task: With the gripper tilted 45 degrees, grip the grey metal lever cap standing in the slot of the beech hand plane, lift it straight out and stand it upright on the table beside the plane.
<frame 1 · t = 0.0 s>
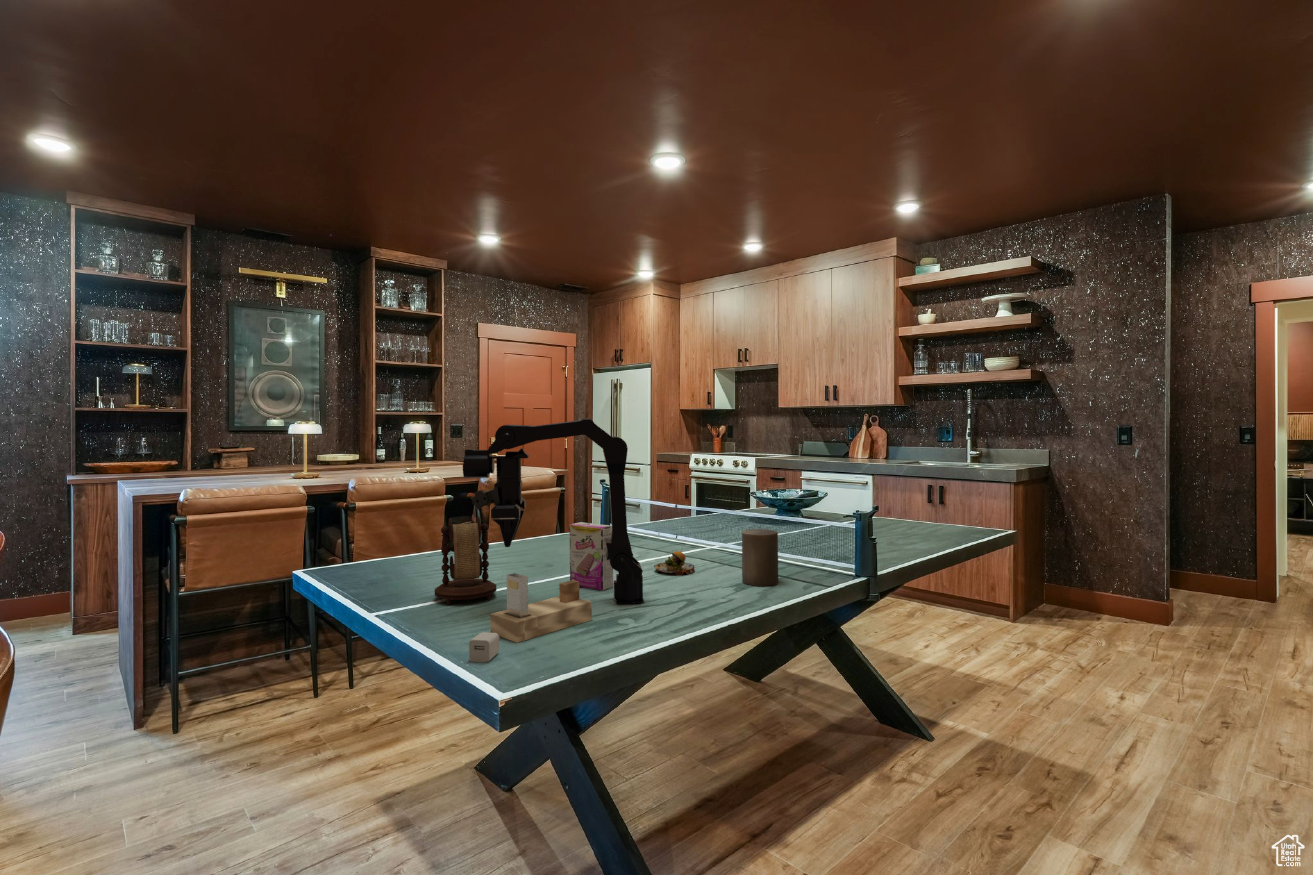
hand: (509, 543, 159), 15 cm above the table, tool pointing down, fingers open, 9 cm apart
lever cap: (517, 633, 138), resting in hand plane
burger: (674, 572, 194), on the table
usb wall charger: (487, 656, 126), on the table
candy bar box: (591, 587, 177), on the table
pillar candle: (759, 582, 181), on the table
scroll: (465, 598, 166), on the table
hand plane: (542, 626, 143), on the table
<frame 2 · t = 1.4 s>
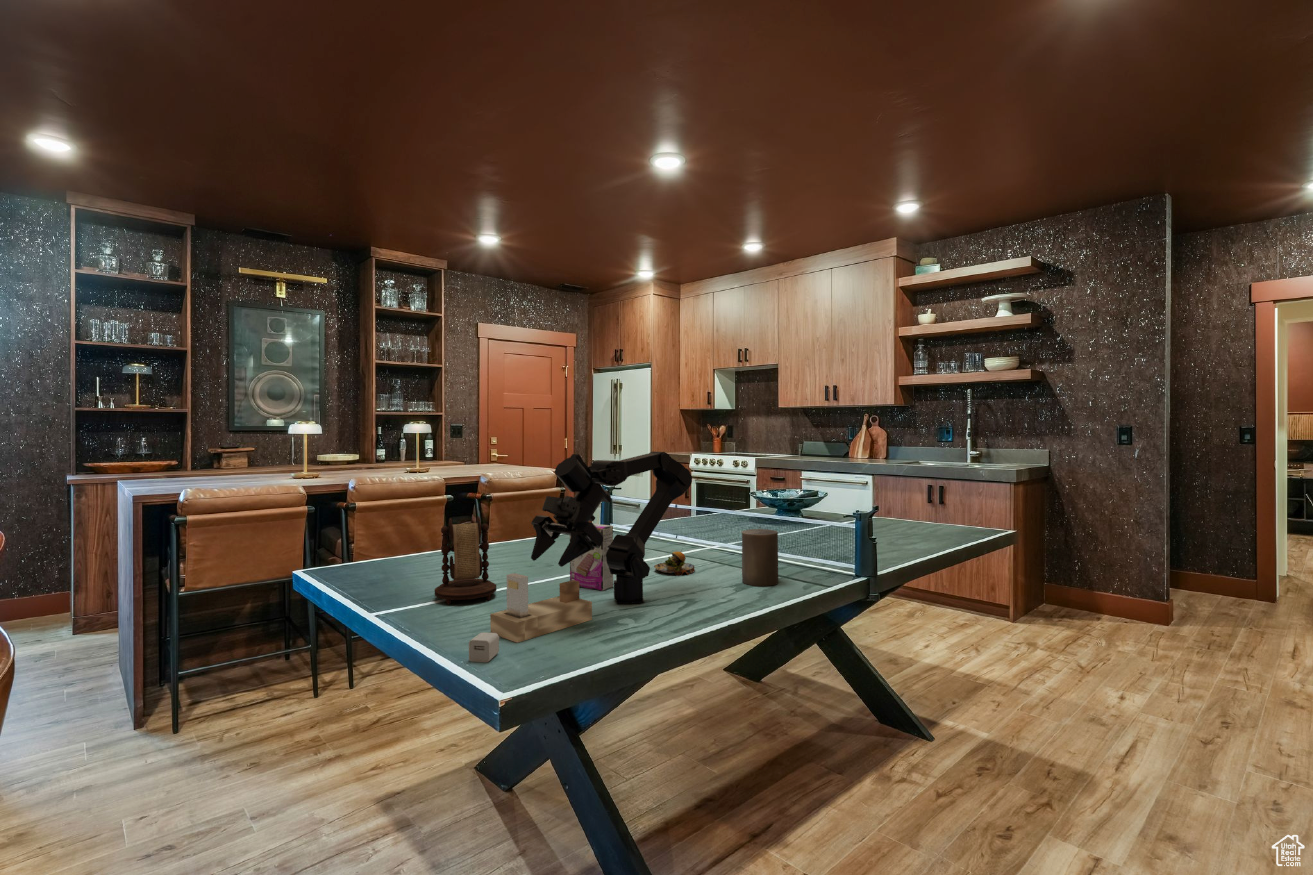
hand: (545, 562, 144), 13 cm above the table, tool tilted 45°, fingers open, 9 cm apart
nothing on the table moved.
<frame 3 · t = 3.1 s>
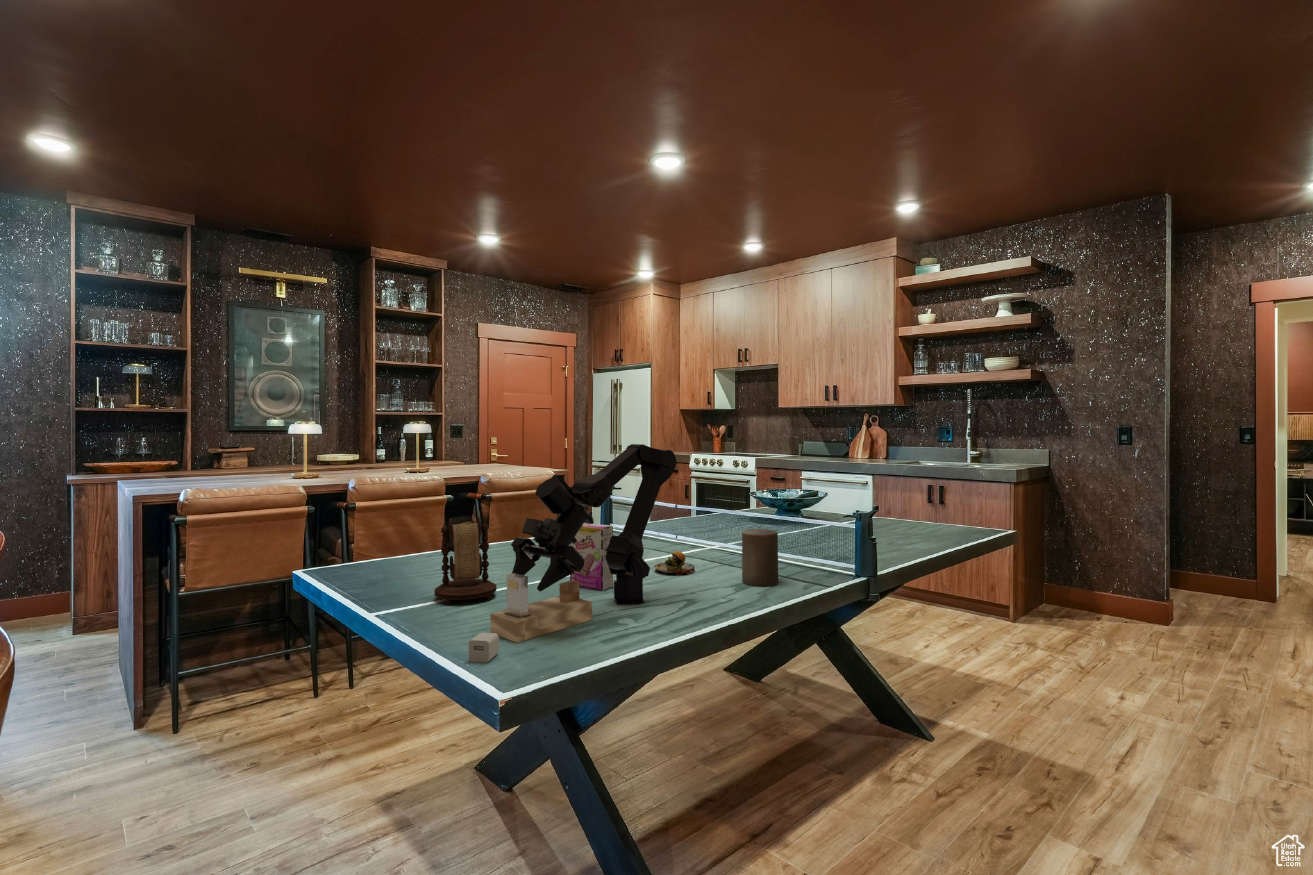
hand: (524, 586, 139), 9 cm above the table, tool tilted 45°, fingers open, 9 cm apart
nothing on the table moved.
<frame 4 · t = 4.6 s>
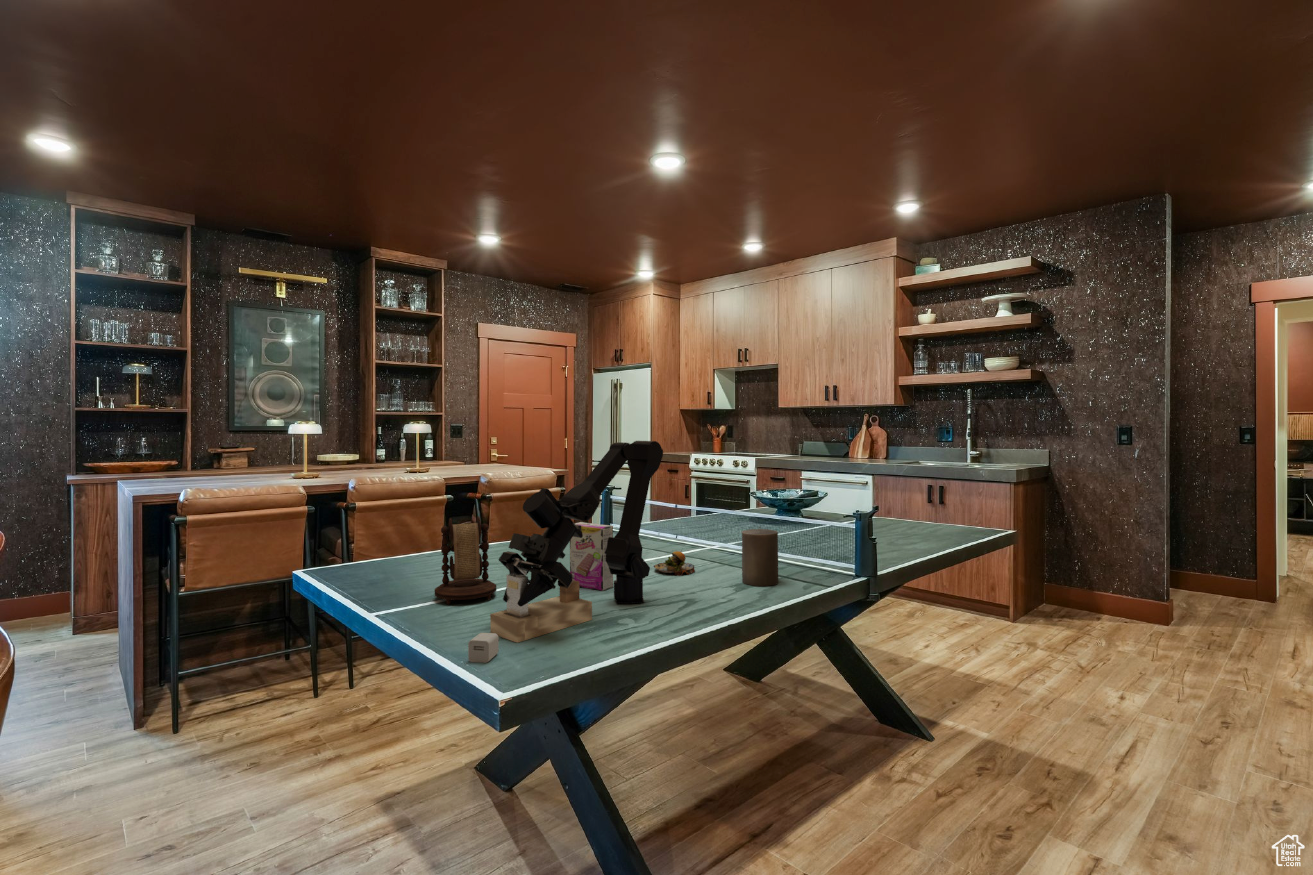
hand: (511, 603, 137), 7 cm above the table, tool tilted 45°, fingers closed on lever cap, 4 cm apart
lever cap: (517, 633, 138), resting in hand plane, touching gripper
everything else where it was.
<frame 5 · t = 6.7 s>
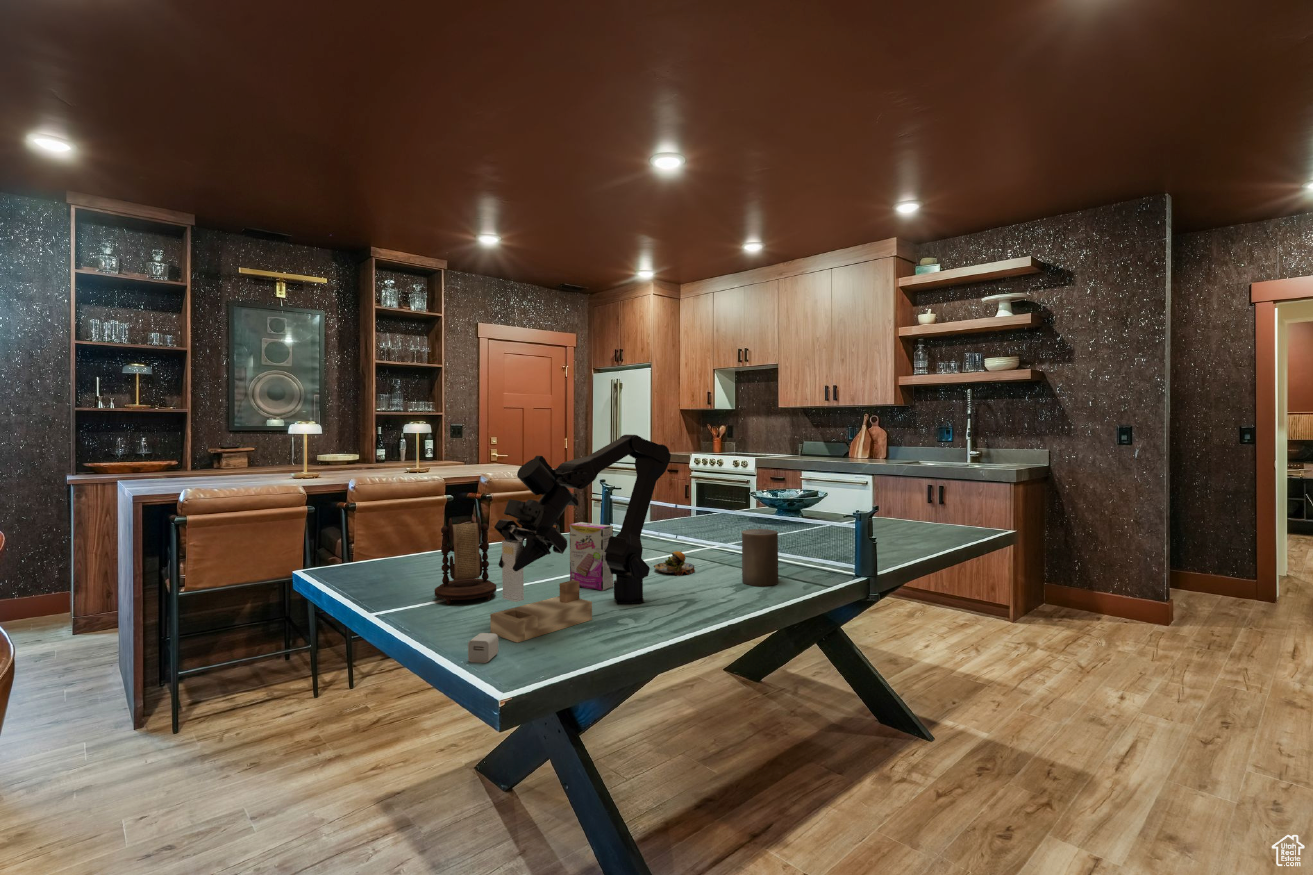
hand: (507, 568, 138), 13 cm above the table, tool tilted 45°, fingers closed on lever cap, 4 cm apart
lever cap: (513, 599, 139), point 7 cm above the table, touching gripper
everything else where it was.
when the fingers open (8 cm above the table, at t = 9.1 s): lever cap drops 1 cm, on the table.
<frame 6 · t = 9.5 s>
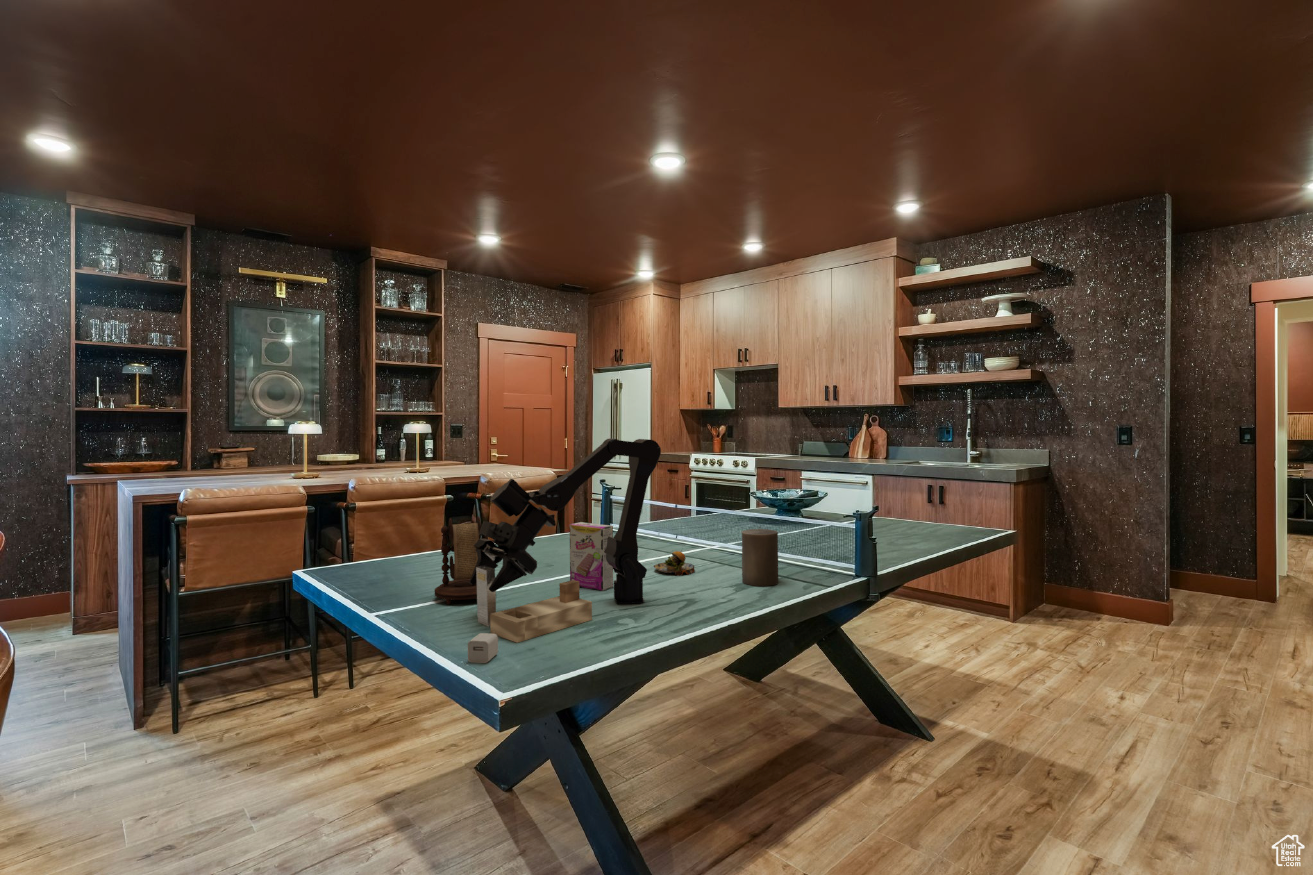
hand: (480, 587, 144), 8 cm above the table, tool tilted 45°, fingers open, 8 cm apart
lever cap: (487, 623, 145), on the table
everything else where it was.
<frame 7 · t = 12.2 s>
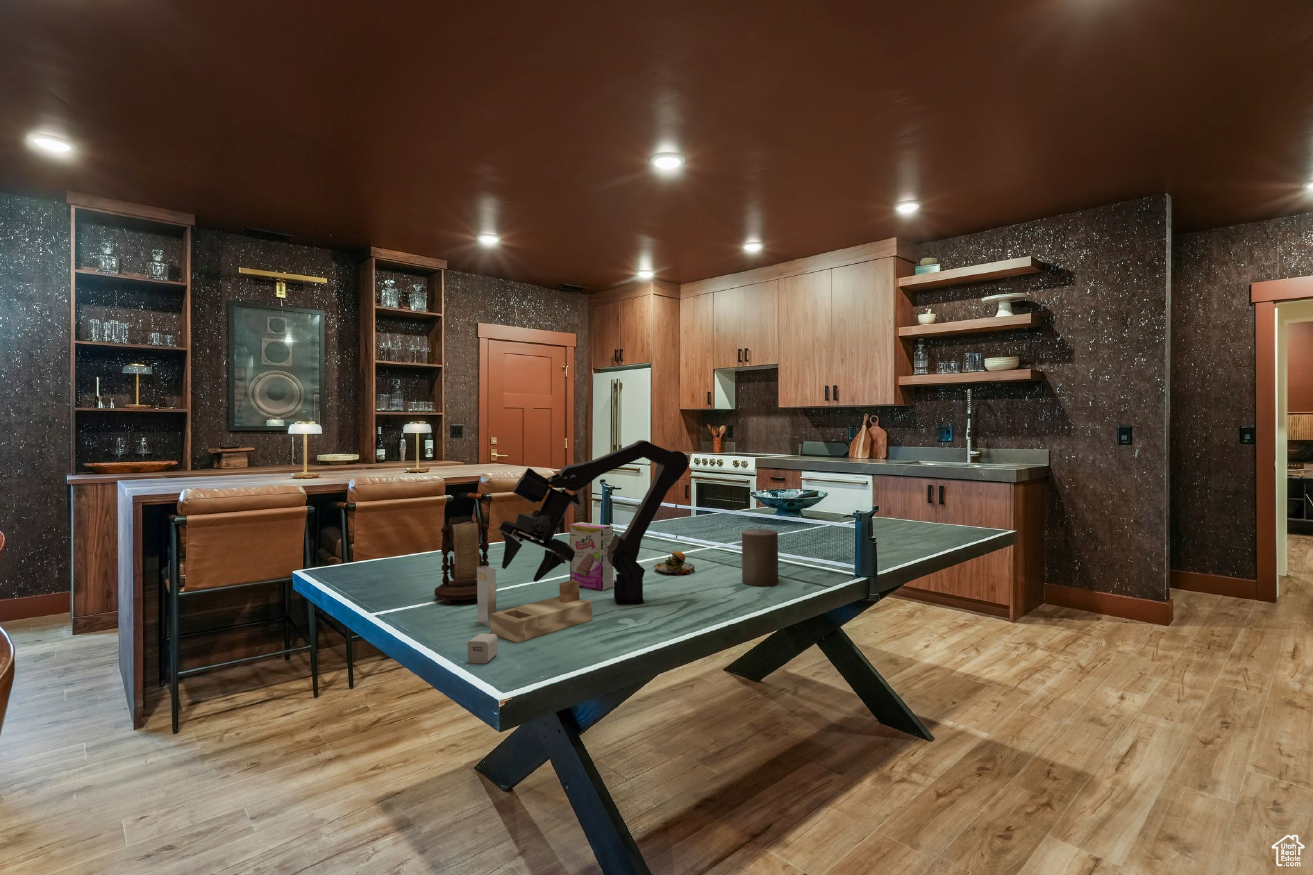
hand: (518, 574, 151), 9 cm above the table, tool tilted 35°, fingers open, 9 cm apart
nothing on the table moved.
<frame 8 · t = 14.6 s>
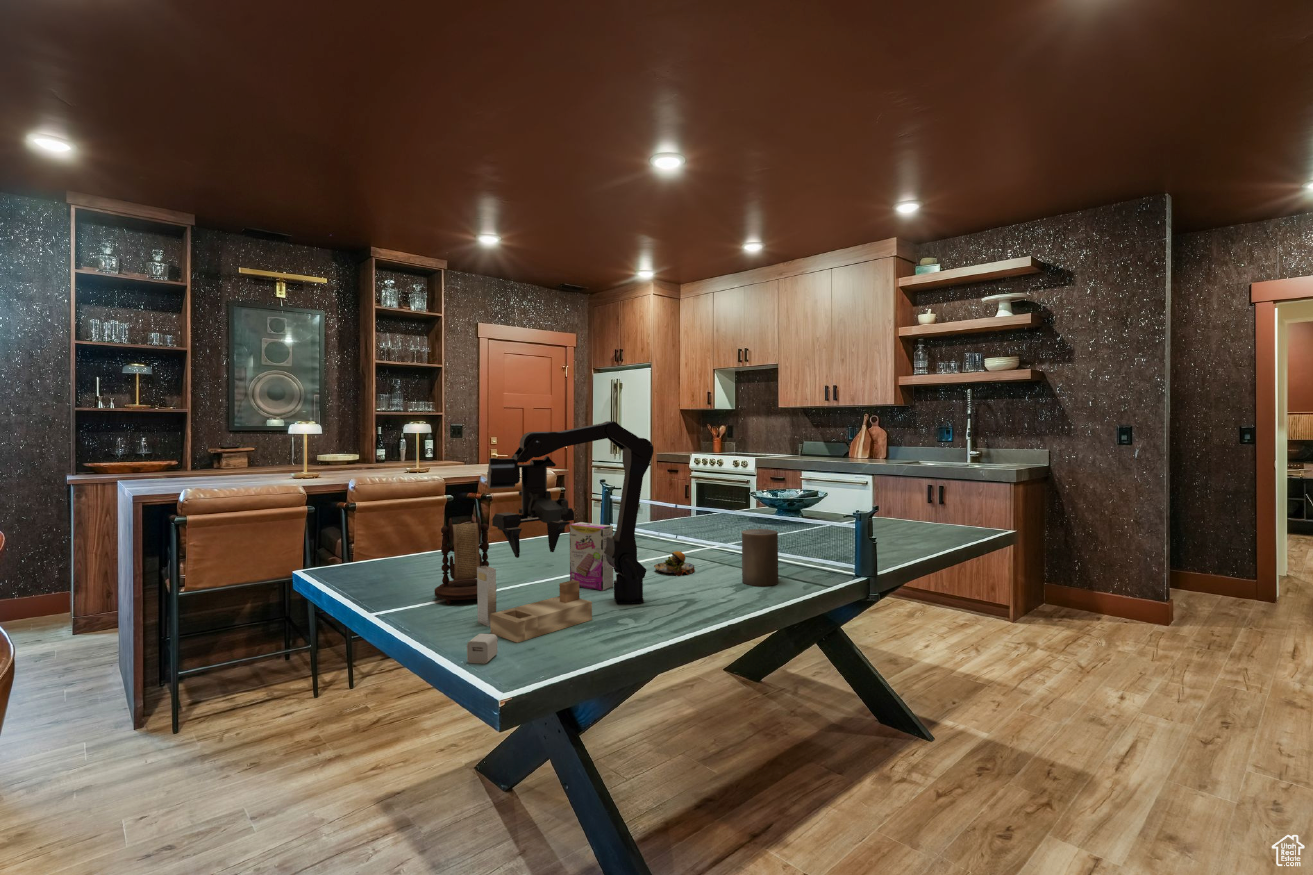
hand: (535, 554, 154), 13 cm above the table, tool pointing down, fingers open, 9 cm apart
nothing on the table moved.
at the end: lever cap inside the target area (0.2 cm from its centre), on the table; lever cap touching table; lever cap tilted 0° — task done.
